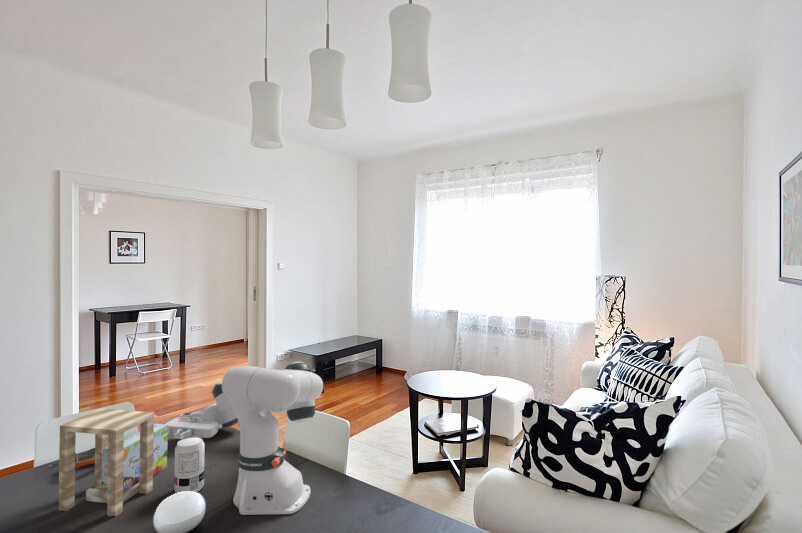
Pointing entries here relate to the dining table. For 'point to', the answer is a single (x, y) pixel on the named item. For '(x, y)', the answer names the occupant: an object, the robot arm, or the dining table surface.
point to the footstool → (111, 435)
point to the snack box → (138, 457)
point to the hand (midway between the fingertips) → (177, 436)
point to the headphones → (90, 460)
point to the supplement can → (189, 465)
